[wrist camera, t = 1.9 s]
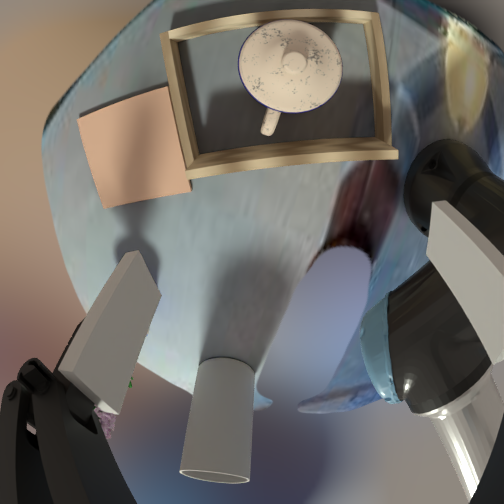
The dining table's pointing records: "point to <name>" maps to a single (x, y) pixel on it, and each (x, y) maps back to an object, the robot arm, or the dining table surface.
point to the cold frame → (283, 151)
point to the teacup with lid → (289, 68)
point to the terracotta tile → (135, 149)
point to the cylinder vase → (220, 423)
